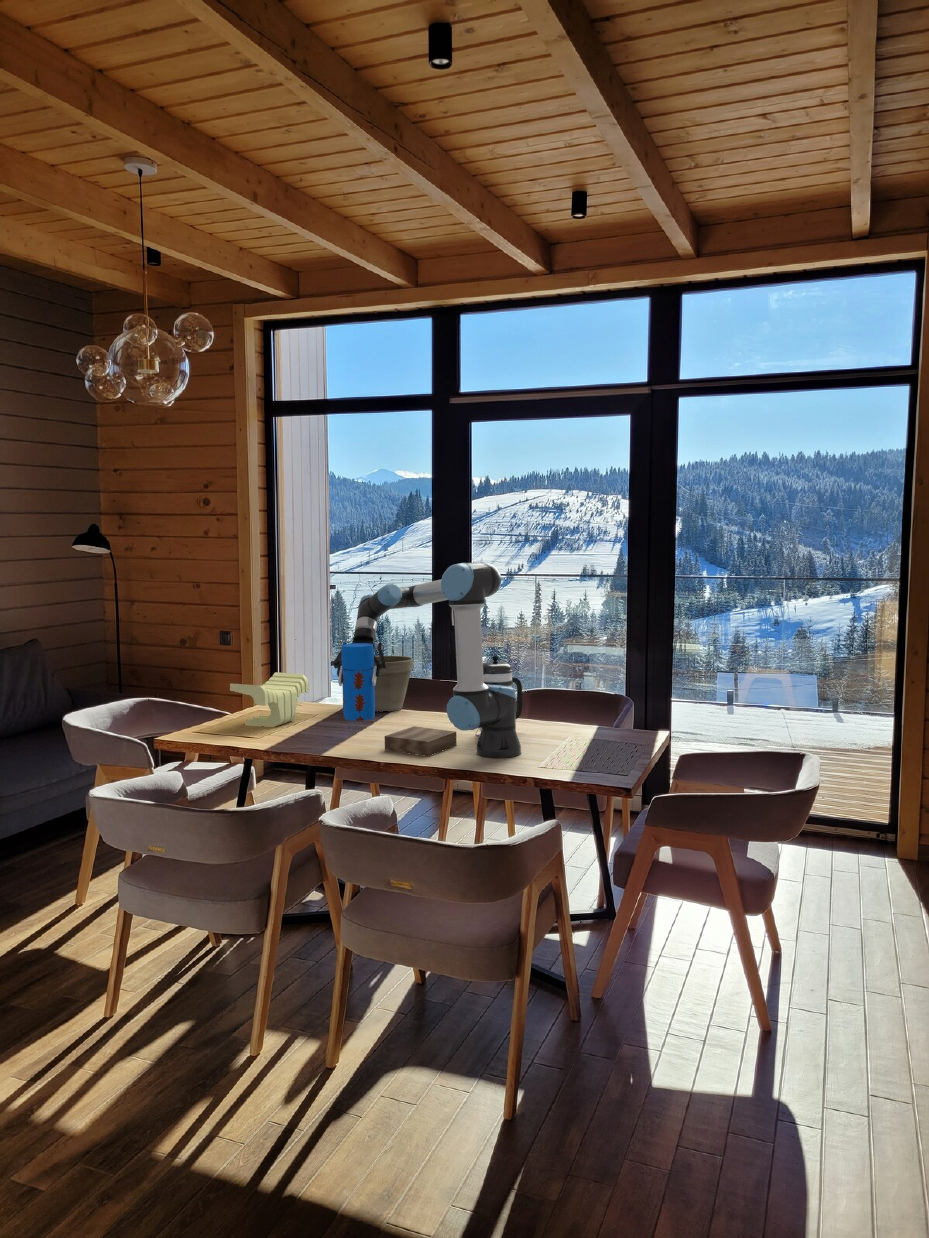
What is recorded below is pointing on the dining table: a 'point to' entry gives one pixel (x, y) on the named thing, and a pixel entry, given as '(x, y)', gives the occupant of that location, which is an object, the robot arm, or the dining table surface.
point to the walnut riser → (420, 741)
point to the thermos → (358, 681)
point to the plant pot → (392, 683)
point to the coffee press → (502, 679)
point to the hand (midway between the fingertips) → (356, 683)
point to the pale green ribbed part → (275, 697)
